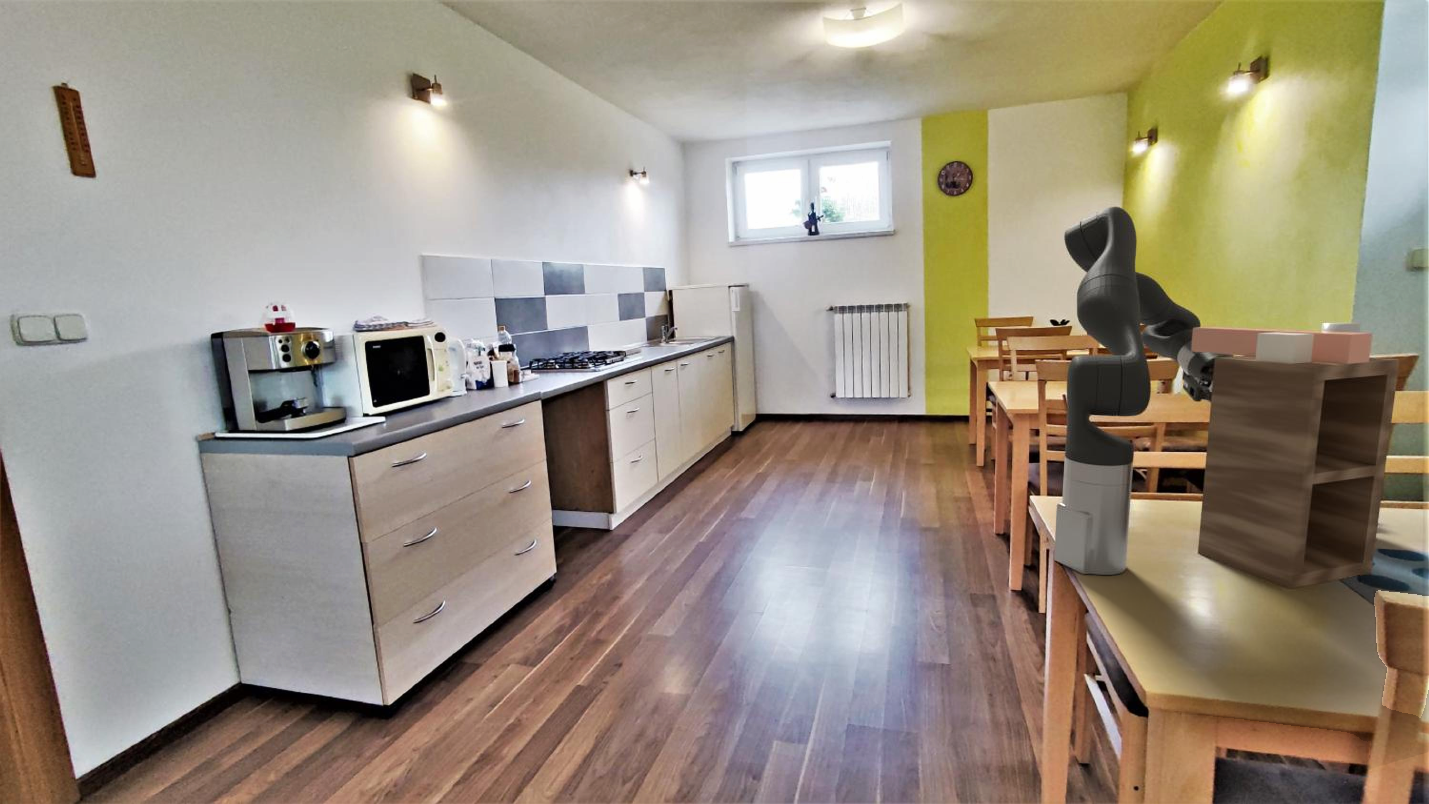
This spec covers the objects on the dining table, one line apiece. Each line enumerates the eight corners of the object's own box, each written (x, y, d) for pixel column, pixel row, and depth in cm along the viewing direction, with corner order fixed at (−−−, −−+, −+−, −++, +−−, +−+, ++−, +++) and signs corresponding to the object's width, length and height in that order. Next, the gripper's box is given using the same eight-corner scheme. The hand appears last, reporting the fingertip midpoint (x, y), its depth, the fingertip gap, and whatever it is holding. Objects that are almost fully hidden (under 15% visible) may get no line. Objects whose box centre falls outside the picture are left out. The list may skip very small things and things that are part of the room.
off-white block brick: (1291, 363, 94) (1294, 335, 93) (1255, 360, 99) (1257, 333, 98) (1310, 362, 95) (1314, 333, 94) (1273, 359, 100) (1276, 332, 99)
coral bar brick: (1347, 363, 92) (1351, 334, 91) (1191, 351, 114) (1193, 327, 113) (1368, 362, 93) (1372, 333, 92) (1209, 350, 115) (1211, 326, 114)
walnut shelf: (1290, 588, 95) (1315, 366, 90) (1197, 552, 109) (1214, 357, 104) (1371, 573, 99) (1399, 359, 94) (1272, 540, 113) (1292, 352, 108)
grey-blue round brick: (1343, 359, 97) (1347, 324, 96) (1311, 356, 101) (1314, 323, 100) (1364, 357, 98) (1368, 323, 97) (1331, 355, 102) (1335, 322, 101)
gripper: (1169, 349, 127) (1212, 389, 113) (1255, 342, 124) (1309, 382, 110) (1164, 384, 131) (1204, 426, 117) (1247, 378, 128) (1298, 421, 114)
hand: (1255, 405), depth 114 cm, fingers open, 8 cm apart
